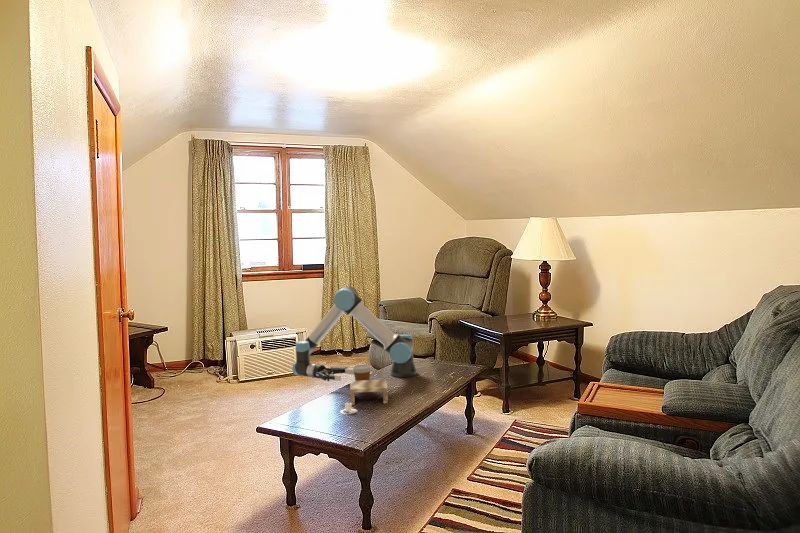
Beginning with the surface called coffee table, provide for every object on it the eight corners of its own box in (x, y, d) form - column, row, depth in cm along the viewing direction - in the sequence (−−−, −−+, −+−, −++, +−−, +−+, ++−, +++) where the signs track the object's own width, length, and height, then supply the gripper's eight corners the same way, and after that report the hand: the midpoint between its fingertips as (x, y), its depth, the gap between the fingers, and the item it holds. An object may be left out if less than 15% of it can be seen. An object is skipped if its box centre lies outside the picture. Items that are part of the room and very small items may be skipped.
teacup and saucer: (358, 414, 258) (358, 405, 258) (341, 416, 256) (340, 407, 256) (356, 408, 266) (355, 400, 266) (339, 410, 265) (339, 401, 265)
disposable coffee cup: (369, 392, 292) (368, 369, 291) (351, 391, 294) (350, 369, 293) (373, 387, 301) (372, 365, 300) (356, 386, 303) (355, 364, 302)
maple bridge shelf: (386, 393, 288) (385, 379, 288) (387, 403, 272) (387, 387, 272) (350, 395, 287) (350, 380, 287) (350, 405, 271) (350, 389, 271)
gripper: (330, 372, 324) (361, 376, 313) (302, 383, 302) (333, 388, 291) (330, 359, 323) (360, 363, 312) (301, 369, 302) (333, 373, 291)
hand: (347, 375), depth 302 cm, fingers open, 13 cm apart
